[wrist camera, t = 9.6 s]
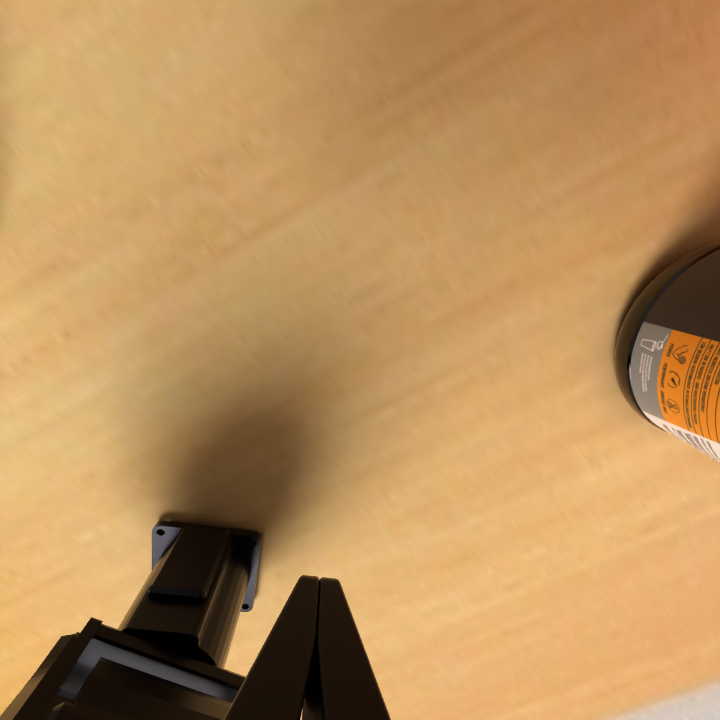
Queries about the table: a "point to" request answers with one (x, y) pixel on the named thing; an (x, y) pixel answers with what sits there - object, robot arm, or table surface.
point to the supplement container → (676, 351)
